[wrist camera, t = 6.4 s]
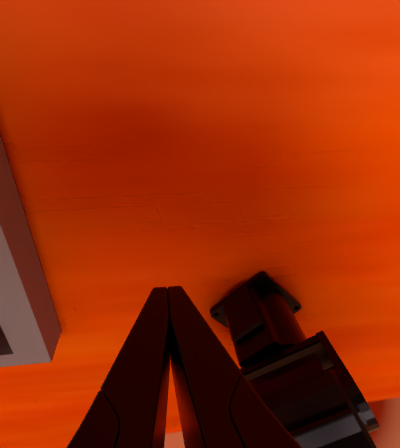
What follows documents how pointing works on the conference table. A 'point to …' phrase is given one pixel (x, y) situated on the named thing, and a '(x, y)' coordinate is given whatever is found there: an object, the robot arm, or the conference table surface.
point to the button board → (22, 284)
